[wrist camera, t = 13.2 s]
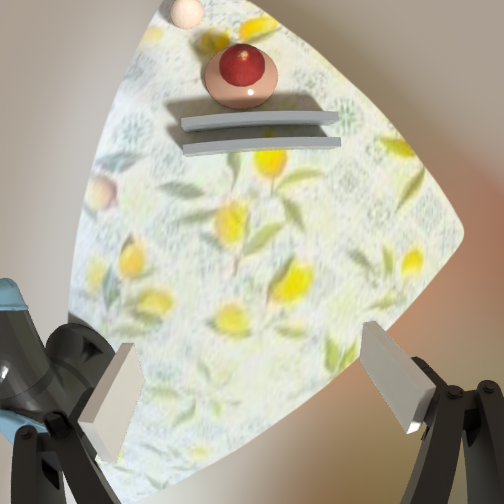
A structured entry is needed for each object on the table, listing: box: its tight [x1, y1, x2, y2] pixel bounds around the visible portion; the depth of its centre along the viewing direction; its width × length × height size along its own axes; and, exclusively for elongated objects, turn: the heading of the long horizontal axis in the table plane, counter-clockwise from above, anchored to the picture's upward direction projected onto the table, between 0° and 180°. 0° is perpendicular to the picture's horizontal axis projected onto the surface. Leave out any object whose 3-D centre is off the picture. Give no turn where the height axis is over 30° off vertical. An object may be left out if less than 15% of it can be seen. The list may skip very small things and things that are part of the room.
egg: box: [171, 0, 204, 29], centre depth 29 cm, size 5×5×7 cm
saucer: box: [205, 47, 278, 109], centre depth 35 cm, size 10×10×1 cm
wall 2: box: [181, 111, 339, 132], centre depth 35 cm, size 20×1×4 cm, turn 94°
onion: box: [219, 44, 265, 87], centre depth 31 cm, size 6×6×8 cm
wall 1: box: [183, 137, 341, 157], centre depth 36 cm, size 20×1×4 cm, turn 94°
